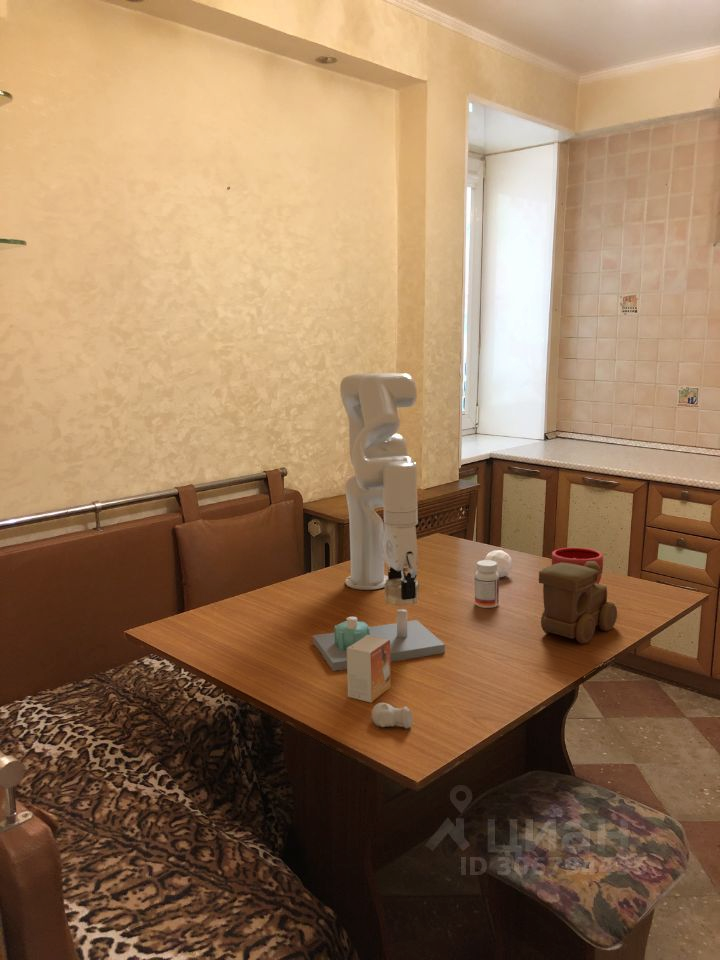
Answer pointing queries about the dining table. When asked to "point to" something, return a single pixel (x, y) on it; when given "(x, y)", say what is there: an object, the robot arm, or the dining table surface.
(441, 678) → the dining table surface
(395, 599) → the wooden gear
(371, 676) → the small box
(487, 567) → the pill bottle
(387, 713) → the pale two-lobed sculpture
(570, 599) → the wooden toy train
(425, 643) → the gear board
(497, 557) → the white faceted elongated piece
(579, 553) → the plant pot
